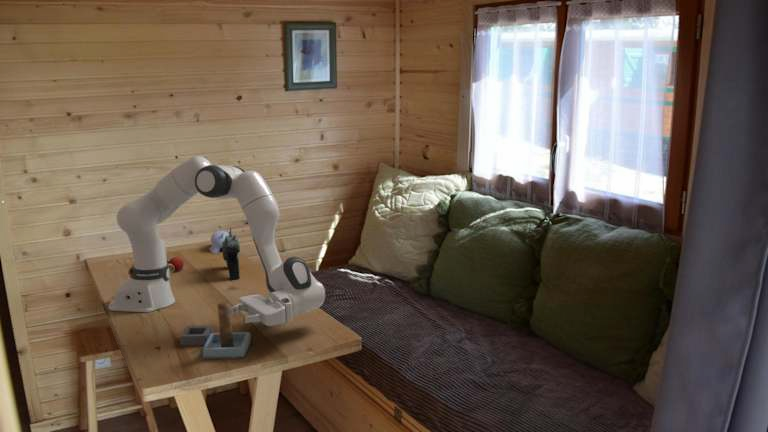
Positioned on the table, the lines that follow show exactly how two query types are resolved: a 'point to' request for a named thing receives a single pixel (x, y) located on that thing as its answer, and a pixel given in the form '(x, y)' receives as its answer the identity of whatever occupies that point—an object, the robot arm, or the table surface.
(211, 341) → the tray
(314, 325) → the table surface
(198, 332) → the socket block
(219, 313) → the dowel
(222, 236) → the hippopotamus toy
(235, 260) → the ceramic cat
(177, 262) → the kendama
